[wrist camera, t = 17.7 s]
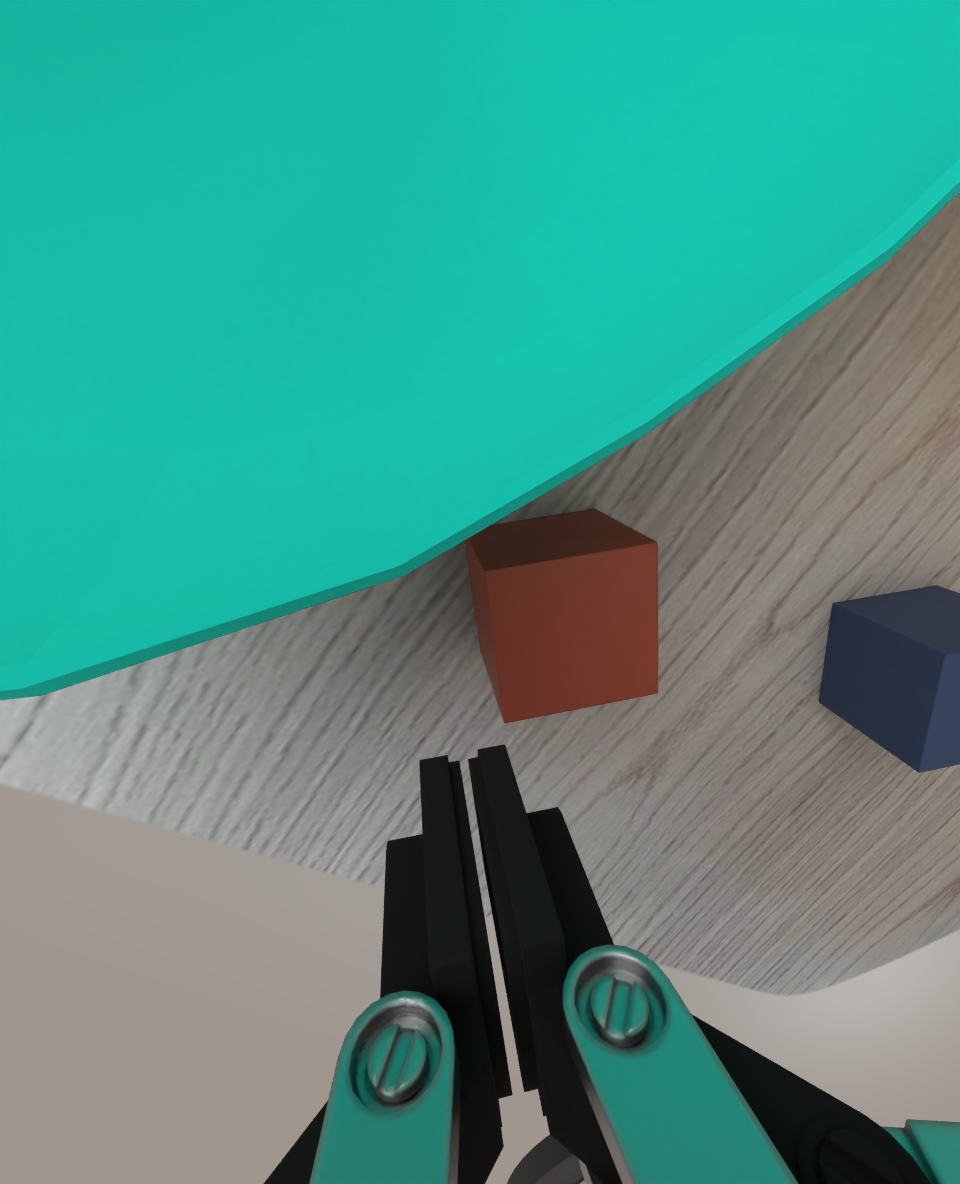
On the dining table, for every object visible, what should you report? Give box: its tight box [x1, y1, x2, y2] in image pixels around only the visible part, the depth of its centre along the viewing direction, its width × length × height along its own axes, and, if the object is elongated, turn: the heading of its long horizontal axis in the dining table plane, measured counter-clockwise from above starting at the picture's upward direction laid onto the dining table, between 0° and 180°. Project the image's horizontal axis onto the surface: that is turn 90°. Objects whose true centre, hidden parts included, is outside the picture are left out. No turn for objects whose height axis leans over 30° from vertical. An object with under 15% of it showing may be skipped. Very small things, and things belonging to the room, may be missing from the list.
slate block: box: [819, 586, 960, 773], centre depth 21 cm, size 5×5×5 cm
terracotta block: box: [465, 509, 658, 723], centre depth 18 cm, size 5×5×5 cm
